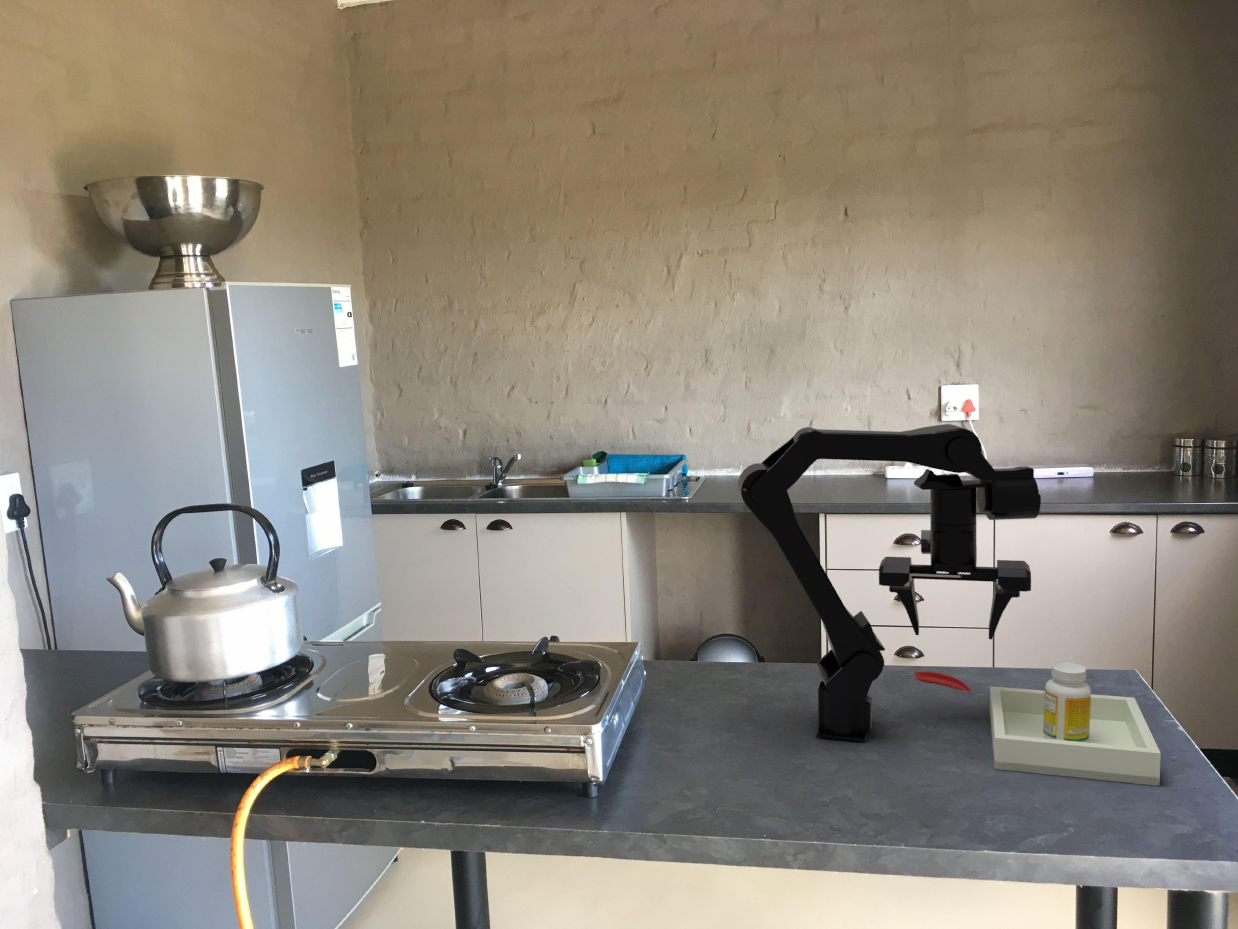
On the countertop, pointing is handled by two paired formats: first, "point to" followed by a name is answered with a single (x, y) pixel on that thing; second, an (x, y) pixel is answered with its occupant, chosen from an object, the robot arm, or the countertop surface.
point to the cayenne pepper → (941, 680)
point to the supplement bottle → (1067, 704)
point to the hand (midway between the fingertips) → (953, 636)
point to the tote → (1109, 754)
